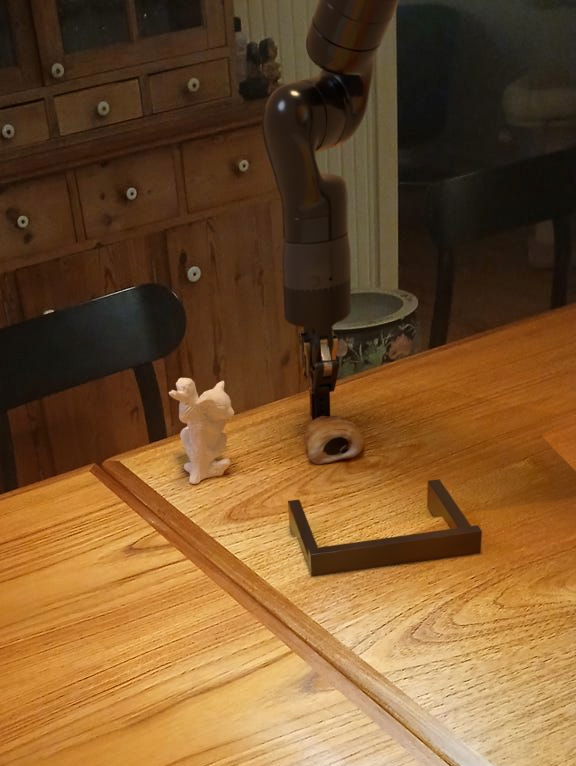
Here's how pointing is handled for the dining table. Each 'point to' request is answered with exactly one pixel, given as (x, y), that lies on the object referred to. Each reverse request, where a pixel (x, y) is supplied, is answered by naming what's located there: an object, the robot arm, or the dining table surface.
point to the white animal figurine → (203, 428)
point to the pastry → (332, 439)
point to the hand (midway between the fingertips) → (320, 418)
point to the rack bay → (391, 540)
